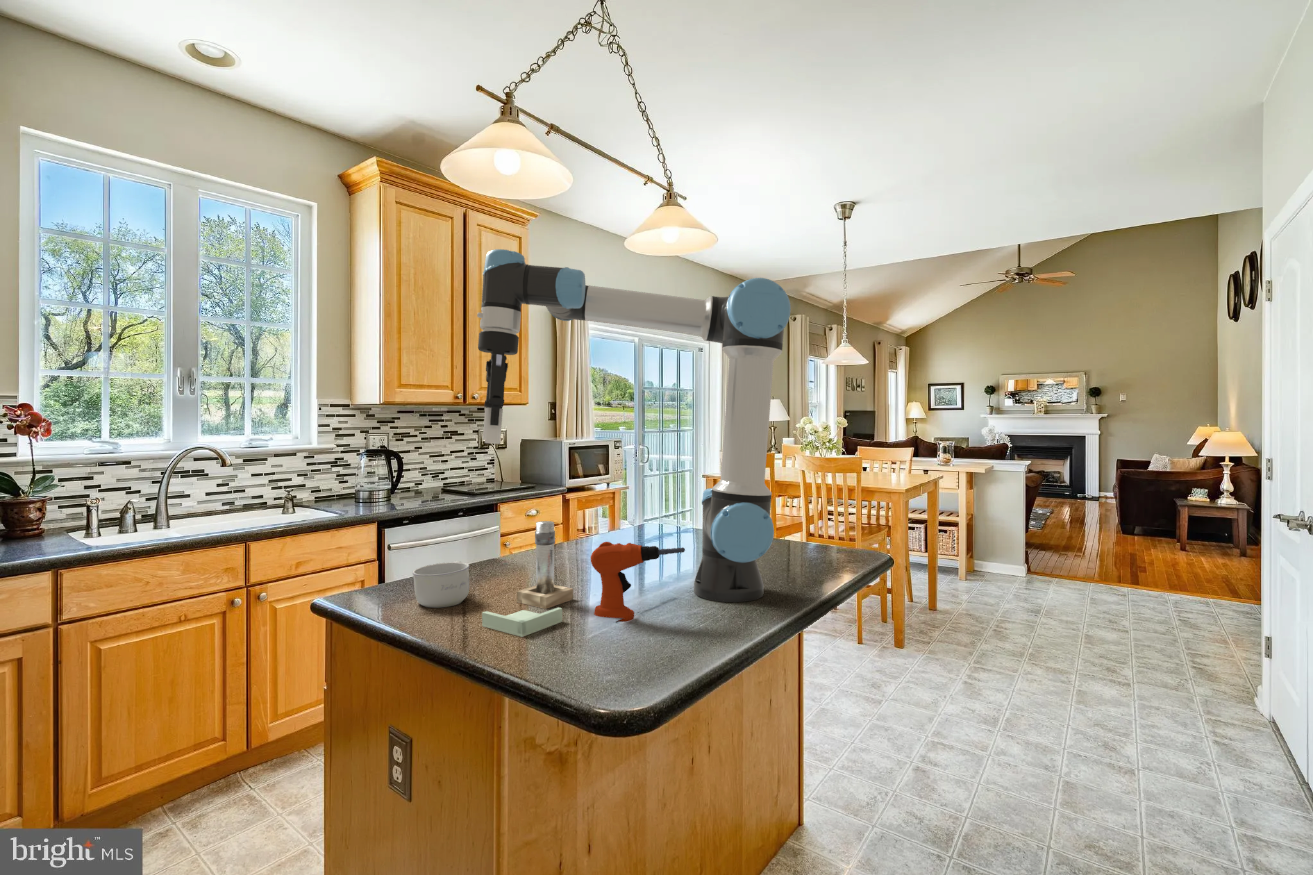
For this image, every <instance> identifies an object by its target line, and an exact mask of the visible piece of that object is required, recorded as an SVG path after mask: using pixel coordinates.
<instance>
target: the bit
mask: <svg viewBox="0 0 1313 875" xmlns="http://www.w3.org/2000/svg"><path fill="white" fill-rule="evenodd" d="M534 544H535V562H536V563H535V578H536V579H535V586H536V593H541V594H549V593H552V592H554V585H555V544H556V530H555V522H554V521H553V520H551V521H550V520H544V521H543V520H541V521H536V522H535V531H534Z"/></svg>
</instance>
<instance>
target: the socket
mask: <svg viewBox="0 0 1313 875" xmlns="http://www.w3.org/2000/svg"><path fill="white" fill-rule="evenodd" d="M572 600H574V588H573V587H572V588H571V587H567V586H562V585H556V584H554V592H552V593H549V594H541V593H536V585H533V586H530V587H527V588H523V589H519V590H516V603H518V604H523V605H525V606H526V605H528V606H532V607H537V608H541V609H545V610H546V609H549V608H552V607H555V606H557V605H561V604H564V603H566V602H570V601H572Z"/></svg>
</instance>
